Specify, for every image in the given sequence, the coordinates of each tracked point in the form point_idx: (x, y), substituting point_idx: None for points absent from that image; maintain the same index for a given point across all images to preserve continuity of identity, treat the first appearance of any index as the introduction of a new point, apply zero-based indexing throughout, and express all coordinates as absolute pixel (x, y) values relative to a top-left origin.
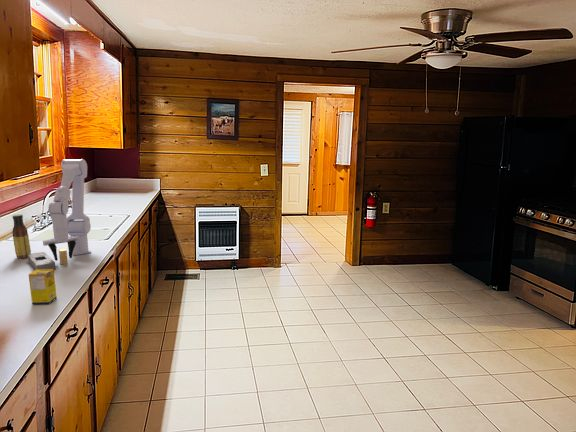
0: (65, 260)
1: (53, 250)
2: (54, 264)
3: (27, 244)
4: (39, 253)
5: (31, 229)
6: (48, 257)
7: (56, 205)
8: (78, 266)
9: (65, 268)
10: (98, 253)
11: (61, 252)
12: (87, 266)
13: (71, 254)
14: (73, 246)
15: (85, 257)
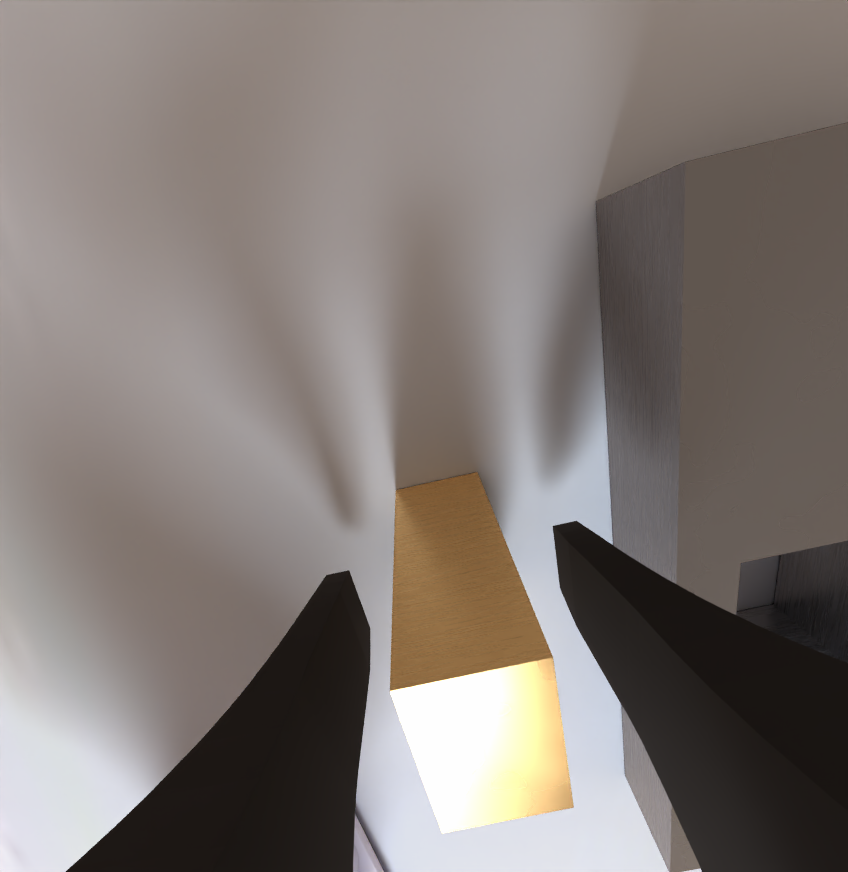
0: (427, 513)
1: (811, 664)
2: (671, 172)
3: None
4: None
5: None
6: None
7: None
8: (203, 233)
9: (431, 197)
10: (56, 779)
11: (522, 627)
12: (9, 138)
13: (306, 617)
14: (129, 843)
15: (186, 683)
